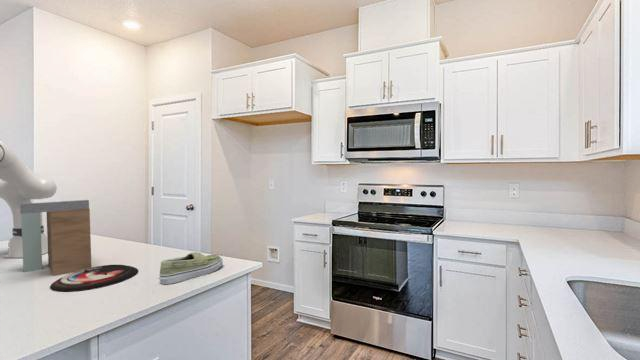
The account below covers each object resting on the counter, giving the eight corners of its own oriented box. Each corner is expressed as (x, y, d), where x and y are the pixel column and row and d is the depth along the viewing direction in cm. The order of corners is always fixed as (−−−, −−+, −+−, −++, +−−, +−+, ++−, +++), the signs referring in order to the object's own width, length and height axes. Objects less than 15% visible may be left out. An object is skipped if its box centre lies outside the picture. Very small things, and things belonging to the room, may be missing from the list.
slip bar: (20, 212, 131) (19, 203, 131) (87, 208, 146) (87, 199, 146) (20, 213, 129) (20, 204, 128) (89, 208, 144) (88, 200, 143)
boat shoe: (229, 267, 146) (229, 247, 145) (172, 288, 121) (171, 263, 120) (212, 264, 151) (212, 244, 150) (154, 283, 126) (153, 260, 125)
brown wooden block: (48, 264, 151) (46, 207, 150) (83, 259, 160) (81, 205, 159) (53, 275, 135) (50, 211, 134) (91, 268, 144) (89, 208, 143)
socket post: (23, 268, 146) (20, 207, 145) (41, 265, 150) (38, 206, 149) (23, 272, 140) (21, 209, 139) (42, 269, 144) (40, 208, 143)
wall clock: (84, 303, 113) (154, 271, 142) (82, 290, 113) (153, 260, 141) (32, 293, 122) (108, 265, 150) (30, 281, 122) (107, 255, 150)
